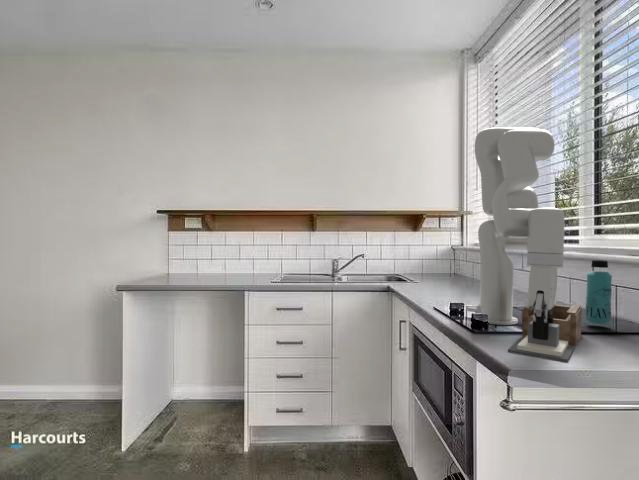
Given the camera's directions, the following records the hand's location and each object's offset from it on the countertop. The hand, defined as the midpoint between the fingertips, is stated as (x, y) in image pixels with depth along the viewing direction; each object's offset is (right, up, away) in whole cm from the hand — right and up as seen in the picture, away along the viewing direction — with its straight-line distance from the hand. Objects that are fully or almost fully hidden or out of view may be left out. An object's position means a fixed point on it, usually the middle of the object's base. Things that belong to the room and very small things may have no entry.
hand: (542, 335), depth 99 cm
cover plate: (0, -3, 0) cm, 3 cm away
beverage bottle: (+30, -3, +26) cm, 40 cm away
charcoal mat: (0, -3, 0) cm, 3 cm away
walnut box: (+9, -3, +13) cm, 16 cm away
